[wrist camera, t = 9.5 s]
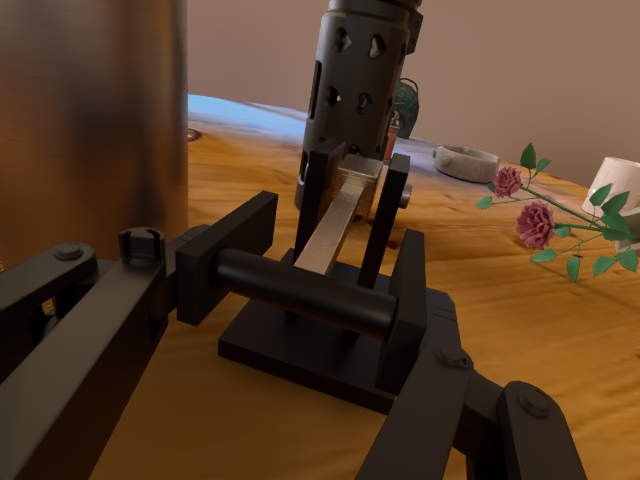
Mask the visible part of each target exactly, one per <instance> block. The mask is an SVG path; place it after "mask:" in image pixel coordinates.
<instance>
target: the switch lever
mask: <svg viewBox="0 0 640 480" xmlns="http://www.w3.org/2000/svg"><path fill="white" fill-rule="evenodd" d="M383 163H384V162H382V161H378V160H374V159H369V158H365V157H361V156H357V155H352V154H347V155H346V157H345V158H344V159H343V161H342V162H341V163H340V165H339V166H338V167H337V170H336V176H335V181H334V187H333V192H332V197H331V203H330V207H329V209H328V211H327V212H326V214H325V215H324V217H323V219H322V220H321V222H320V224H319V225H318V227H317V228H316V230H315V232H314V233H313V235H312V237H311V238H310V240H309V241H308V243H307V245H306V246H305V248H304V250H303V251H302V253H301V254H300V256H299V258H298V259H297V261H296V263H295V264H294V266H293V265H290V264H287V263H283V262H280V261H276V260H273V259H270V258H266V257H263V256H260V255H256V254H253V253H250V252H246V251H243V250H240V249H236V248H233V247H230V246H222V247H221V248H220V249H219V250H218V251H217V252H216V253H215V255H214V257H213V259H212V261H211V264H210V267H209V272H208V280H209V283H210V284H211V285H212V286H213V287H217V288H220V289H223V290H226V291H229V292H232V293H235V294H238V295H241V296H245V297H248V298H251V299H254V300H257V301H260V302H263V303H266V304H269V305H273V306H276V307H279V308H282V309H285V310H288V311H291V312H294V313H297V314H301V315H304V316H307V317H310V318H313V319H316V320H319V321H322V322H325V323H329V324H332V325H335V326H338V327H341V328H344V329H347V330H350V331H354V332H357V333H360V334H363V335H366V336H369V337H372V338H375V339H378V340H382V341H387V339H388V338H389V336H390V333H391V330H392V327H393V324H394V320H395V316H396V312H397V306H398V297H396V296H394V295H390V294H387V293H384V292H380V291H377V290H374V289H370V288H367V287H364V286H360V285H357V284H354V283H350V282H347V281H344V280H340V279H337V278H333V277H330V276H329V275H330V273H331V270H332V268H333V266H334V263H335V261H336V259H337V256H338V254H339V252H340V250H341V247H342V245H343V243H344V240H345V238H346V236H347V234H348V231H349V229H350V227H351V224H352V222H353V220H354V217H355V215H360V216H363V217H368V215H369V212H370V209H371V206H372V204H373V201H374V198H375V194H376V190H377V186H378V183H379V179H380V175H381V171H382V167H383Z"/></svg>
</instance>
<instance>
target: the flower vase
mask: <svg viewBox="0 0 640 480" xmlns="http://www.w3.org/2000/svg"><path fill="white" fill-rule="evenodd" d="M520 161H521V166H523V167H526V168H528V169H529V172H530V169H533V168H536V157H535V151H534V148H533V146H532V143H530V144H529V145H528V146H527V148H526V149H525V150H524V151H523V154H522V157H521V160H520ZM550 162H551V160H549V159H546V158H544V159H542V160H540V161H539V162H538V166H537V171H536V173H535V175H534V176H533V177H535V176H536V175H537V173H538V172H540V171H541V170H542V169H543V168H544V167H545V166H547V165H548V164H549V163H550ZM516 169H517V168H514V169H512V167H511V166H510V167H509V168H508V170H507V169H506V167H504V168H502V169H501V170H500V171H499V172H498V173H499V174H498V176H495V178H494V179H493V184H487V186H488V187H489V189H490V190H491V191H492V192H493V193H495V194H496V196H497V197H498V198H499V197H500V196H502V198H503V197H504V196H508V197H510V195H511V193H514V192H517V190H518V189H519V188H521V189H523V190H525V191H528V192H530V193H532V194H534V195H536V196H538V197H536V198H542V199H544V200H546V201H548V202H549V203H551V204H553V205H555V206H557V207H559V208H561V209H563V210H565V211H567V212H569V213H571V214H573V215H575V216H577V217H579V218H581V219H583V220H585V221H587V222H589V223H591V224H590V227H588V226H580V225H573V224H562V223H555V222H553V218H552V216H553V211H552V210H551V211H549V210H548V209H547V208H546V207H547V206H548V205H547V204H542V203H541V201H540V200H537V201H536V204H535V202H533V203H532V204H531V205H528V206H524V209H522V211H521V215H520V216H518V218H517V221H518V224H517V227H516V229H517V232H518V233H520V236H519V237H520V239H521V240H522V241H523V242H525V243H526V246H528V247H529V248H530V245H533V247H532V249H533V250H536V249H538V250H543V251H541V252H538V253H537V254H536V255H535V256H534V257H533V258H532V259H531V260H530V261H534V262H545V261H552V260H553V259H554V258H555V256H556V255H559V254H561V253H559V254H556V253H555V252H554V251H553V250H552V249H545V250H544V248H543V246H544V245H545V244H546V245H547V246H549V239H551V238H552V237H553V236H554V235H555V233H556V235H558V236H559V237H561V238H563V237H566V236H569V235H570V229H571V228H570V227H573V228H580V229H588V230H593V231H599V232H602V233H603V234H601V235H603V237H604V239H606V240H610V241H614V245H615V251H616V254H619V255H617V256H615V257H616V259H617V260H618V262H619V263H620V264H621V265H622V266H623V267H624V268H627V269H629V270H631V271H633V272H635V273H636V269H637V264H638V258H637V257H640V207H639V208H635V209H632V210H629V211H625V212H622V213H619V211H620V210H621V209H622V208H623V207H624V205H625V204H626V202H627V199H628V196H629V193H630V191H627V192H624V193H621V194H618V195H616V196H613V197H612V198H611V199H609V200H608V201H607V202H605V203H604V204H603V205H602V206H601V204H602V203H603V202H604V200H605V199H606V197H607V196H608V194H609V192H610V188H611V185H612V183H610V184H608V185H606V186H603V187H601V188H599V189H598V190H597V191H596V192H595V193H594V194H592V196H591V197H590V198H589V201H590V202H591V204H592V205H593V206H594V215H595V206H601V207H600V208H601V209H602V211H603V212H604V213H603V215H602V217H601V218H600V219H598V220H601V221H602V222H603V223H604V224H606V226H607V225H608V226H609V227H611V228H609V227H606V226H600V225H598V224H596V223H594V222H596V221H598V220H596V221H594V222H593V220H592V221H590V220H588V219H586V218H584V217H582V216H580V215H578V214H576V213H574V212H572V211H570V210H568V209H566V208H564V207H562V206H560V205H558V204H556V203H555V202H553V201H551V200H549V199H547V198H545V197H543V196H541V195H540V194H538V193H535V192H533V191H531V190H529V189H528V186H529V184H528V186H527V188H524V187H522V185H523V184H521V181H520V180H521V179H520V176H519V174H520V172H521V171H517V172H516V171H515V170H516ZM533 177H531V173H530V178H529V183H530V179H531V178H533ZM510 198H512V197H510ZM513 199H516V198H513ZM529 199H535V198H529ZM522 200H527V199H522ZM516 201H521V200H520V199H517V200H516ZM509 202H514V201H509ZM501 203H507V202H501ZM492 204H499V203H492V198H491V197H485V198H483V199H481V200H480V201H479V202H478V203H477V204H476V205H477V207H478V208H481V209H487V208H488V207H489V206H491V205H492ZM537 206H538V207H537ZM593 219H594V216H593ZM591 225H594V226H596V227H598V228H593V227H591ZM599 228H600V229H599ZM551 229H552V230H551ZM550 230H551V232H550ZM552 231H554V232H555V233H554V232H552ZM570 236H572V235H570ZM598 236H600V235H598ZM573 237H574V236H573ZM595 237H597V236H595ZM595 237H593V238H595ZM575 238H576V237H575ZM577 239H578V238H577ZM590 239H592V238H590ZM590 239H588V240H590ZM579 240H580V239H579ZM588 240H586V241H588ZM581 241H583V240H581ZM586 241H584V242H586ZM581 243H583V242H581ZM581 243H580V244H581ZM578 245H579V244H578ZM576 246H577V245H576ZM576 246H574V247H576ZM574 247H572V248H574ZM579 247H580V245H579ZM572 248H570V249H572ZM570 249H568V250H570ZM568 250H566V251H568ZM566 251H564V252H566ZM564 252H562V253H564ZM578 254H579V249H578ZM577 257H578V255H577ZM577 257H575V258H571V259H568V262H567V270H568V274H569V276H570V278H571V279H572V281H573V283H574V282H575V280H576V278H577V276H578V271H579V265H580V260H579V259H578V258H577ZM616 259H614V257H613V258H612V257H602V256H601V257H600V258H599V259H597V261H596V263H595V265H594V266H593V272H594V277H595V276H597V275H599V274H601V273H603V272H605V271H606V270H607V269H608V268H610V267H611V266H612V265H613V264H614V263H615V262H616V261H617V260H616Z"/></svg>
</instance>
